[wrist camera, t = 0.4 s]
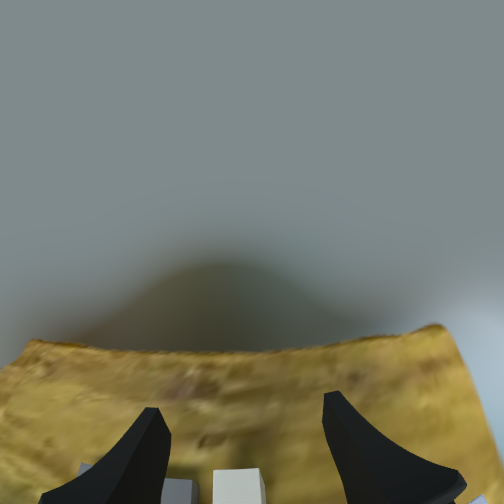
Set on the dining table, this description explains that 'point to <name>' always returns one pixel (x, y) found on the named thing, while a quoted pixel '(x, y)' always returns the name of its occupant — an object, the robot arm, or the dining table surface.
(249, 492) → the plug block
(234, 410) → the dining table surface
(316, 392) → the dining table surface
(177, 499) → the socket plate
